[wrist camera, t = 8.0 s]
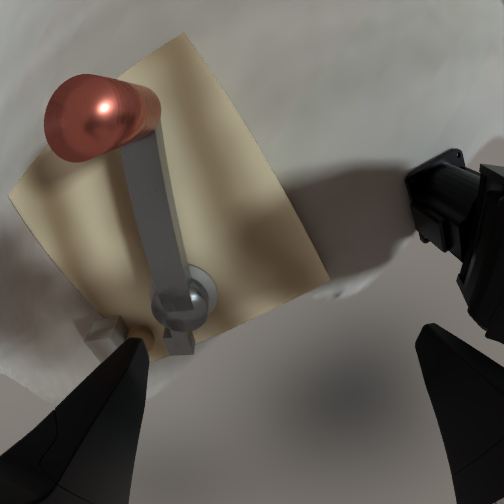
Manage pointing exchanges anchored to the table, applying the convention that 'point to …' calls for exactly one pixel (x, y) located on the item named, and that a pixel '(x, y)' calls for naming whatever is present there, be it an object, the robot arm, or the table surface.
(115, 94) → the lever
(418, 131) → the table surface
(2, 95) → the table surface
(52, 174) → the board
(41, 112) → the table surface
